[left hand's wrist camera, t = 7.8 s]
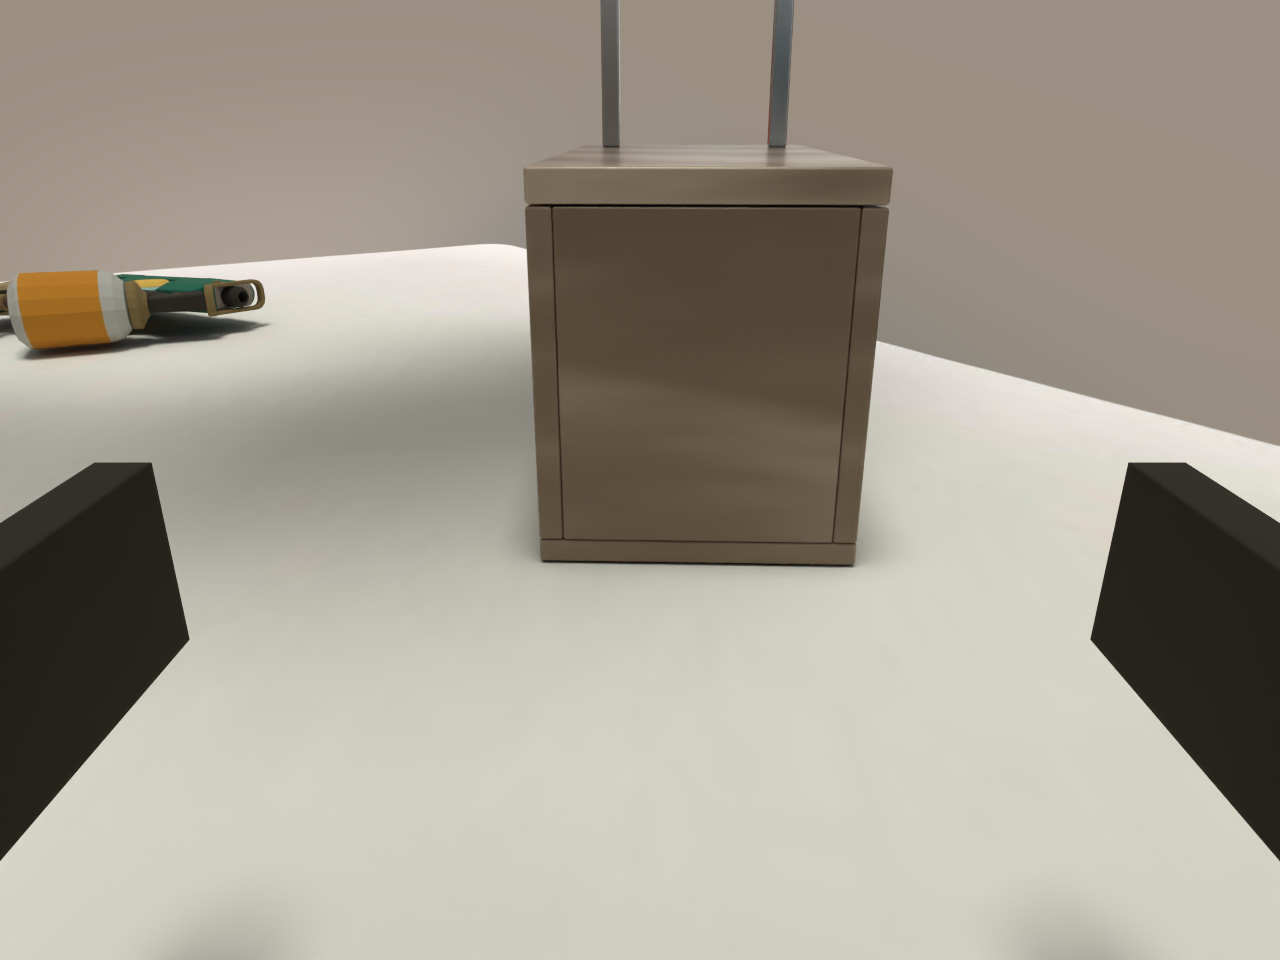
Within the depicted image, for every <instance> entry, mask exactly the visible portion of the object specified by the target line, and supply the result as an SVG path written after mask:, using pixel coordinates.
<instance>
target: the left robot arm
mask: <svg viewBox="0 0 1280 960" xmlns="http://www.w3.org/2000/svg"><path fill="white" fill-rule="evenodd" d="M189 640H190V639H189V635H188V630H187V625H186V621H185V616H184V611H183V607H182V602H181V597H180V593H179V588H178V583H177V579H176V574H175V570H174V565H173V560H172V556H171V551H170V546H169V542H168V537H167V532H166V528H165V523H164V518H163V514H162V509H161V504H160V500H159V495H158V490H157V486H156V481H155V477H154V472H153V467H152V463H93V464H92V465H90V466H88V467H87V468H85V469H84V470H82V471H81V472H79V473H78V474H76V475H74V476H73V477H71V478H70V479H68V480H67V481H65V482H64V483H62V484H60V485H59V486H57V487H56V488H54V489H53V490H51V491H50V492H48V493H46V494H45V495H43V496H42V497H40V498H39V499H37V500H35V501H34V502H32V503H31V504H29V505H28V506H26V507H25V508H23V509H21V510H20V511H18V512H17V513H15V514H14V515H12V516H11V517H9V518H7V519H6V520H4V521H3V522H1V523H0V861H1V859H2V858H3V857H4V856H5V855H6V854H7V852H8V851H9V850H10V849H11V848H12V847H13V845H14V844H15V843H16V842H17V841H18V840H19V838H20V837H21V836H22V835H23V834H24V833H25V831H26V830H27V829H28V828H29V827H30V825H31V824H32V823H33V822H34V821H35V820H36V818H37V817H38V816H39V815H40V814H41V813H42V811H43V810H44V809H45V808H46V807H47V806H48V804H49V803H50V802H51V801H52V800H53V799H54V797H55V796H56V795H57V794H58V793H59V792H60V790H61V789H62V788H63V787H64V786H65V785H66V783H67V782H68V781H69V780H70V779H71V778H72V776H73V775H74V774H75V773H76V772H77V771H78V769H79V768H80V767H81V766H82V765H83V764H84V762H85V761H86V760H87V759H88V758H89V756H90V755H91V754H92V753H93V752H94V751H95V749H96V748H97V747H98V746H99V745H100V744H101V742H102V741H103V740H104V739H105V738H106V737H107V735H108V734H109V733H110V732H111V731H112V730H113V728H114V727H115V726H116V725H117V724H118V723H119V721H120V720H121V719H122V718H123V717H124V716H125V714H126V713H127V712H128V711H129V710H130V709H131V707H132V706H133V705H134V704H135V703H136V702H137V700H138V699H139V698H140V697H141V696H142V694H143V693H144V692H145V691H146V690H147V689H148V687H149V686H150V685H151V684H152V683H153V682H154V680H155V679H156V678H157V677H158V676H159V675H160V673H161V672H162V671H163V670H164V669H165V668H166V666H167V665H168V664H169V663H170V662H171V661H172V659H173V658H174V657H175V656H176V655H177V654H178V652H179V651H180V650H181V649H182V648H183V647H184V645H185V644H186V643H187V642H188V641H189ZM1090 640H1091V641H1092V642H1093V643H1094V644H1095V645H1096V647H1097V648H1098V649H1099V650H1100V651H1101V652H1102V654H1103V655H1104V656H1105V657H1106V658H1107V659H1108V661H1109V662H1110V663H1111V664H1112V665H1113V666H1114V668H1115V669H1116V670H1117V671H1118V672H1119V673H1120V675H1121V676H1122V677H1123V678H1124V679H1125V680H1126V682H1127V683H1128V684H1129V685H1130V686H1131V687H1132V689H1133V690H1134V691H1135V692H1136V693H1137V694H1138V696H1139V697H1140V698H1141V699H1142V700H1143V702H1144V703H1145V704H1146V705H1147V706H1148V707H1149V709H1150V710H1151V711H1152V712H1153V713H1154V714H1155V716H1156V717H1157V718H1158V719H1159V720H1160V721H1161V723H1162V724H1163V725H1164V726H1165V727H1166V728H1167V730H1168V731H1169V732H1170V733H1171V734H1172V735H1173V737H1174V738H1175V739H1176V740H1177V741H1178V742H1179V744H1180V745H1181V746H1182V747H1183V748H1184V749H1185V751H1186V752H1187V753H1188V754H1189V755H1190V756H1191V758H1192V759H1193V760H1194V761H1195V762H1196V764H1197V765H1198V766H1199V767H1200V768H1201V769H1202V771H1203V772H1204V773H1205V774H1206V775H1207V776H1208V778H1209V779H1210V780H1211V781H1212V782H1213V783H1214V785H1215V786H1216V787H1217V788H1218V789H1219V790H1220V792H1221V793H1222V794H1223V795H1224V796H1225V797H1226V799H1227V800H1228V801H1229V802H1230V803H1231V804H1232V806H1233V807H1234V808H1235V809H1236V810H1237V811H1238V813H1239V814H1240V815H1241V816H1242V817H1243V818H1244V820H1245V821H1246V822H1247V823H1248V824H1249V825H1250V827H1251V828H1252V829H1253V830H1254V831H1255V833H1256V834H1257V835H1258V836H1259V837H1260V838H1261V840H1262V841H1263V842H1264V843H1265V844H1266V845H1267V847H1268V848H1269V849H1270V850H1271V851H1272V852H1273V854H1274V855H1275V856H1276V857H1277V858H1278V859H1279V861H1280V523H1279V522H1277V521H1276V520H1274V519H1273V518H1271V517H1269V516H1268V515H1266V514H1265V513H1263V512H1262V511H1260V510H1259V509H1257V508H1255V507H1254V506H1252V505H1251V504H1249V503H1248V502H1246V501H1245V500H1243V499H1241V498H1240V497H1238V496H1237V495H1235V494H1234V493H1232V492H1230V491H1229V490H1227V489H1226V488H1224V487H1223V486H1221V485H1220V484H1218V483H1216V482H1215V481H1213V480H1212V479H1210V478H1209V477H1207V476H1206V475H1204V474H1202V473H1201V472H1199V471H1198V470H1196V469H1195V468H1193V467H1192V466H1190V465H1188V464H1187V463H1128V467H1127V472H1126V477H1125V481H1124V486H1123V490H1122V495H1121V500H1120V504H1119V509H1118V514H1117V518H1116V523H1115V528H1114V532H1113V537H1112V542H1111V546H1110V551H1109V556H1108V560H1107V565H1106V570H1105V574H1104V579H1103V583H1102V588H1101V593H1100V597H1099V602H1098V607H1097V611H1096V616H1095V621H1094V625H1093V630H1092V635H1091V639H1090Z"/></svg>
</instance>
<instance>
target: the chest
mask: <svg viewBox="0 0 1280 960" xmlns="http://www.w3.org/2000/svg"><path fill="white" fill-rule="evenodd" d="M888 215H889V210H888V208H886V207H884V206H882V205H631V204H530V205H529V206H527V207H526V208H525V221H526V243H527V265H528V287H529V309H530V331H531V353H532V376H533V398H534V420H535V442H536V464H537V486H538V508H539V530H540V537H541V539H540V552H541V559H542V560H570V561H637V562H705V563H772V564H839V565H853V564H854V562H855V552H856V544H855V543H856V540H857V531H858V521H859V511H860V500H861V490H862V480H863V470H864V460H865V449H866V439H867V429H868V419H869V409H870V399H871V388H872V378H873V368H874V358H875V348H876V338H877V327H878V317H879V307H880V297H881V287H882V276H883V266H884V256H885V246H886V236H887V225H888Z"/></svg>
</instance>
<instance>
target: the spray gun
mask: <svg viewBox="0 0 1280 960" xmlns="http://www.w3.org/2000/svg"><path fill="white" fill-rule="evenodd" d="M250 283H253V284H254V285H255V287H256V290H257V296H258V302H257V303H256V305H254V306H249V305H251V304H252V302H253V300H254V290H253V288H252V286H251V285H250ZM264 303H265V295H264V289H263V286H262V284H261V283H260V282H259V281H258V280H241V281H233V280H222V279H212V278H186V277H163V276H144V275H129V274H121V275H114V274H113V273H109V272H104V271H99V270H97V271H69V272H40V273H19V274H17V275H16V276H15V277H14V279H13V280H12V281H10V282H5V283H0V315H9V316H10V320H11V323H12V327H13V329H14V332H15V334H16V336H17V338H18V339H19V340H20V341H21V342H22V343H24V344H25V345H27V346H28V347H30V348H33V349H47V348H58V347H70V346H81V345H92V344H104V343H114V342H117V341H120V340H123V339H125V338H126V337H127V336H128V335H129V333H130V332H131V331H132V330H133V328H134V329H144V328H145V325H146V322H147V320H148V318H149V317H150V316H151V312H201V313H208V315H209V316H217V315H222V314H229V313H236V312H242V311H249V310H256V309H260V308H261V307H263V305H264ZM244 306H248V307H244ZM237 307H239V308H237ZM233 308H234V309H233Z"/></svg>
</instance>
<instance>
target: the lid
mask: <svg viewBox="0 0 1280 960" xmlns="http://www.w3.org/2000/svg"><path fill="white" fill-rule="evenodd" d="M793 13H794V0H775V2H774V22H773V43H772V63H771V84H770V104H769V125H768V145H620V23H619V0H601V63H602V133H603V145H585V146H582V147H579V148H576V149H574V150H571V151H568V152H565V153H562V154H560V155H557V156H554V157H551V158H548V159H545V160H543V161H540V162H537V163H534V164H531V165H528V166H526V167H524V169H523V176H524V198H525V202H526V203H527V204H631V205H888V204H889V202H890V194H891V184H892V174H893V170H892V168H891V167H888V166H884V165H880V164H876V163H872V162H867V161H863V160H859V159H855V158H851V157H847V156H843V155H838V154H834V153H830V152H826V151H822V150H818V149H813V148H809V147H805V146H801V145H786V137H787V119H788V102H789V84H790V66H791V49H792V31H793Z"/></svg>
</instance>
